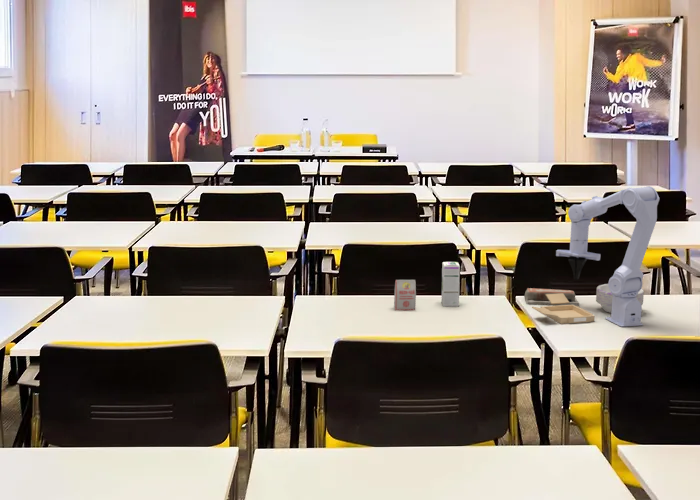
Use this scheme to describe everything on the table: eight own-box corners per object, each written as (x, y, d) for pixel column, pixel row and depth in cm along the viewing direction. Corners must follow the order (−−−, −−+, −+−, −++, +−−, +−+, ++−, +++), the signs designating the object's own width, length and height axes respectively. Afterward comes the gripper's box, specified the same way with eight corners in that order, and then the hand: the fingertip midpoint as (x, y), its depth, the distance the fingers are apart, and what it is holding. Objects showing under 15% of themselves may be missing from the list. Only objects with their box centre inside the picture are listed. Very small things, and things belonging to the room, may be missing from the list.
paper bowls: (590, 313, 283) (592, 290, 281) (600, 303, 296) (602, 281, 295) (637, 319, 276) (639, 296, 274) (645, 309, 289) (647, 286, 288)
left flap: (558, 315, 270) (544, 313, 268) (557, 317, 270) (544, 314, 268) (545, 308, 278) (532, 306, 276) (545, 310, 278) (531, 307, 276)
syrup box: (459, 306, 289) (460, 265, 286) (442, 306, 289) (443, 264, 286) (457, 302, 295) (459, 261, 292) (440, 302, 295) (441, 261, 292)
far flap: (569, 302, 286) (563, 293, 290) (551, 303, 284) (545, 294, 288) (569, 303, 286) (562, 294, 290) (551, 304, 285) (545, 295, 289)
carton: (596, 322, 272) (597, 316, 272) (561, 324, 269) (561, 318, 269) (573, 310, 286) (574, 304, 286) (540, 312, 283) (540, 306, 283)
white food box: (394, 307, 288) (394, 278, 286) (413, 307, 288) (414, 278, 286) (395, 310, 284) (396, 281, 282) (415, 310, 284) (416, 281, 282)
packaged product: (526, 292, 292) (524, 285, 302) (526, 305, 293) (523, 298, 303) (580, 294, 290) (576, 287, 300) (579, 307, 291) (575, 300, 301)
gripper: (554, 239, 286) (552, 278, 289) (598, 243, 279) (595, 283, 282) (560, 236, 292) (557, 274, 295) (602, 240, 285) (600, 279, 288)
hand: (576, 278), depth 289 cm, fingers closed
